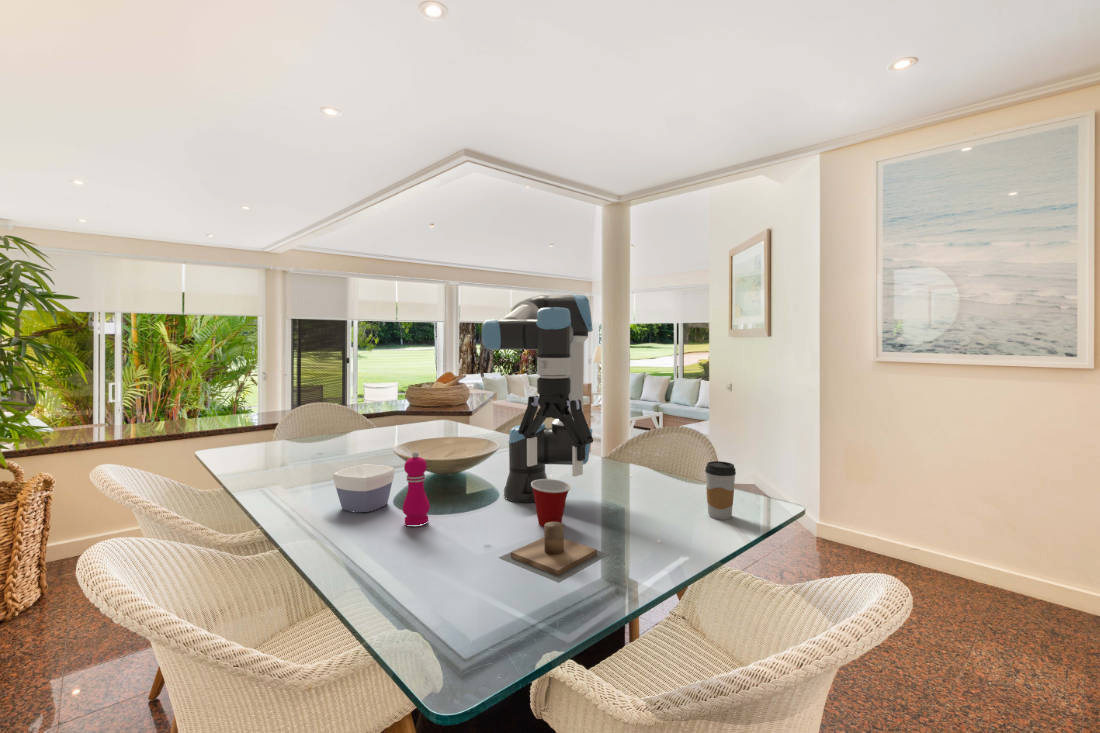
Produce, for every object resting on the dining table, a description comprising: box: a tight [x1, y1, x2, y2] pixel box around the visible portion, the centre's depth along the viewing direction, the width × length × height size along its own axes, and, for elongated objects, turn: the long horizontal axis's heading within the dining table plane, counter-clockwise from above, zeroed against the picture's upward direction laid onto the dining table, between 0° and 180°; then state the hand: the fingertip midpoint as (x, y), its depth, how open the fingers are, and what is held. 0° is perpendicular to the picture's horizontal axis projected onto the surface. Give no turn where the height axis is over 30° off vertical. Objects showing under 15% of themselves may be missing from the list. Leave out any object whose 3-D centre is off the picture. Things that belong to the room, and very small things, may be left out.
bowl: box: [332, 464, 396, 513], centre depth 154 cm, size 15×15×11 cm
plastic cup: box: [531, 478, 572, 528], centre depth 136 cm, size 11×11×12 cm
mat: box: [498, 549, 609, 583], centre depth 116 cm, size 18×18×1 cm
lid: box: [511, 522, 598, 576], centre depth 116 cm, size 14×14×7 cm
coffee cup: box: [704, 460, 737, 521], centre depth 144 cm, size 8×8×15 cm
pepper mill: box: [402, 451, 431, 526], centre depth 139 cm, size 7×7×20 cm
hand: (553, 470), depth 115 cm, fingers open, 13 cm apart
